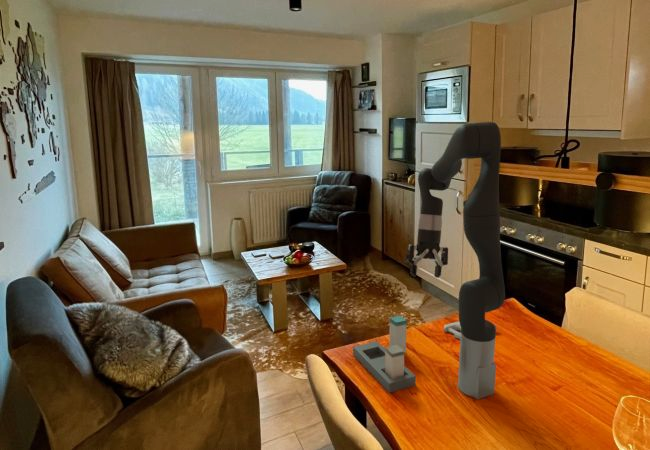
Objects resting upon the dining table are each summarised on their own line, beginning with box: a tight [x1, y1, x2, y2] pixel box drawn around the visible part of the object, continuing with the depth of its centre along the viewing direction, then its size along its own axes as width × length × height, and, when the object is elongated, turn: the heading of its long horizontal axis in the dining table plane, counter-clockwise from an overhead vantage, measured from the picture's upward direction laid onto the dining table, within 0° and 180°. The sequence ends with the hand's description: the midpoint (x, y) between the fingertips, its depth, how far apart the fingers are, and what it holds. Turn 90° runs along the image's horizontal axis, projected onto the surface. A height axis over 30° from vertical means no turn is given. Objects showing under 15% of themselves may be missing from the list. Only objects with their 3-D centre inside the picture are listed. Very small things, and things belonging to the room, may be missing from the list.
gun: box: [443, 319, 498, 340], centre depth 159 cm, size 18×3×10 cm
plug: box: [388, 314, 408, 354], centre depth 145 cm, size 4×4×12 cm
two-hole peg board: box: [352, 340, 417, 393], centre depth 135 cm, size 23×9×10 cm, turn 23°
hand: (425, 276), depth 145 cm, fingers open, 8 cm apart
